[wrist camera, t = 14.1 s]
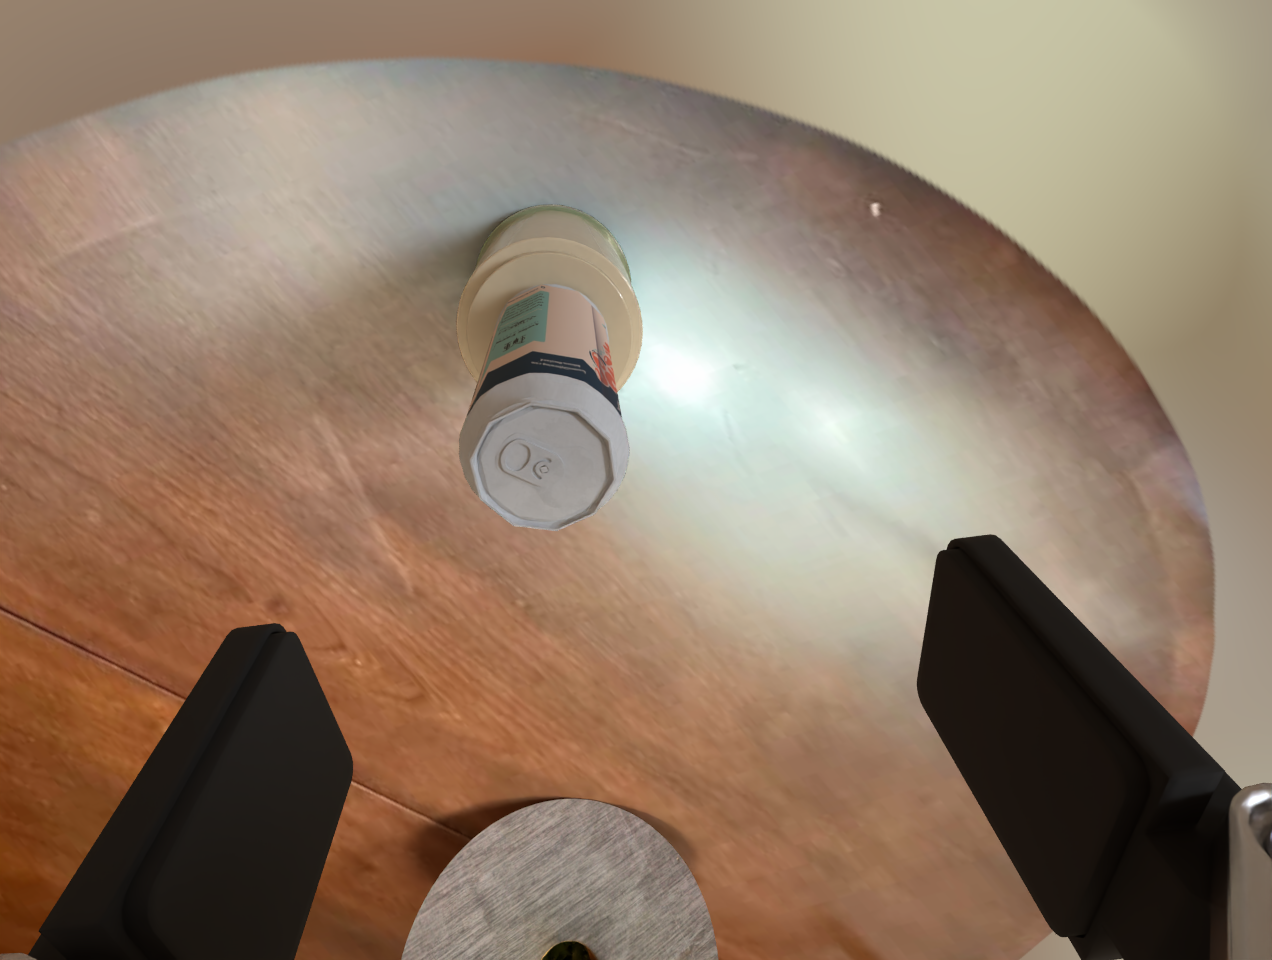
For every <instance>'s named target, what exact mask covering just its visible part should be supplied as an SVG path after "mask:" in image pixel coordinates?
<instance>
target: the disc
mask: <svg viewBox="0 0 1272 960" xmlns="http://www.w3.org/2000/svg"><path fill="white" fill-rule="evenodd" d="M401 960H718V954H717V946H716V941H715V936H714V931H713V926H712V923H711V919H710V916H709V913H708V909H707V906H706V903H705V901H704V898H703V896H702V893H701V891H700V889H699V887H698V885H697V883H696V881H695V879H694V877H693V875H692V873H691V871H690V870H689V868H688V866H687V865H686V863H685V862H684V861H683V859H682V858H681V856H680V855H679V854H678V853H677V851H676V850H675V849H674V848H673V847H672V845H671V844H670V843H669V842H668V841H667V840H666V839H665V838H664V837H663V836H662V835H661V834H660V833H658V832H657V831H656V830H655V829H654V828H653V827H651V826H650V825H649V824H647V823H646V822H645V821H643V820H642V819H640V818H638V817H637V816H635V815H633V814H631V813H629V812H627V811H625V810H623V809H620V808H618V807H615V806H612V805H609V804H606V803H602V802H598V801H593V800H585V799H559V800H552V801H546V802H541V803H537V804H534V805H531V806H528V807H525V808H522V809H520V810H517V811H515V812H513V813H511V814H509V815H507V816H505V817H503V818H501V819H500V820H498V821H496V822H495V823H493V824H492V825H490V826H489V827H487V828H486V829H485V830H483V831H482V832H481V833H479V834H478V835H477V836H476V837H474V838H473V839H472V840H471V841H470V842H469V843H468V844H467V845H466V846H465V847H464V848H463V849H462V850H461V851H460V852H459V853H458V854H457V855H456V856H455V857H454V858H453V859H452V861H451V862H450V863H449V864H448V865H447V867H446V868H445V869H444V870H443V872H442V873H441V874H440V876H439V877H438V879H437V880H436V882H435V883H434V885H433V886H432V888H431V890H430V891H429V893H428V895H427V896H426V898H425V900H424V902H423V904H422V906H421V908H420V910H419V912H418V914H417V916H416V918H415V921H414V923H413V926H412V928H411V931H410V933H409V936H408V939H407V942H406V945H405V948H404V951H403V955H402V959H401Z"/></svg>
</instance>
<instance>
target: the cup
mask: <svg viewBox="0 0 1272 960" xmlns="http://www.w3.org/2000/svg"><path fill="white" fill-rule="evenodd" d="M542 284H557V285H561V286H566V287H570V288H572V289H574V290H576V291H578V292H580V293H582V294H583V295H585V296H586V297H587V298H588V299H589V300H590V301H591V302H593V303H594V304H595V305H596V307H597V308H598V310H599V311H600V313H601V314H602V316H603V318H604V320H605V323H606V326H607V331H608V336H609V350H610V356H611V361H612V367H613V372H614V378H615V383H616V389H617V392H618V391H619V390H620V389H621V388H622V387H623V386H624V384H625V383H626V381H627V380H628V379H629V377H630V375H631V373H632V372H633V370H634V368H635V366H636V363H637V360H638V358H639V354H640V350H641V346H642V336H643V328H642V317H641V311H640V308H639V304H638V301H637V298H636V295H635V293H634V290H633V287H632V285H631V277H630V271H629V267H628V264H627V260H626V258H625V255H624V253H623V251H622V249H621V247H620V245H619V244H618V242H617V240H616V239H615V237H614V236H613V235H612V234H611V233H610V231H609V230H608V229H607V228H606V227H605V226H604V225H603V224H601V223H600V222H599V221H598V220H596V219H595V218H593V217H592V216H590V215H588V214H586V213H585V212H583V211H580V210H577V209H575V208H572V207H567V206H563V205H553V204H549V205H538V206H533V207H529V208H526V209H523V210H520V211H518V212H516V213H514V214H513V215H511V216H509V217H508V218H507V219H505V220H504V221H502V222H501V223H500V224H499V225H498V226H497V227H496V228H495V229H494V230H493V232H492V233H491V234H490V235H489V237H488V238H487V240H486V242H485V244H484V245H483V247H482V249H481V252H480V254H479V256H478V260H477V263H476V267H475V270H474V272H473V273H472V275H471V277H470V279H469V281H468V282H467V284H466V286H465V288H464V291H463V293H462V296H461V298H460V302H459V306H458V311H457V321H456V325H457V338H458V344H459V348H460V351H461V354H462V357H463V360H464V362H465V364H466V366H467V368H468V370H469V371H470V373H471V375H472V376H473V378H474V379H475V380H476V382H477V383H478V379H479V376H480V373H481V370H482V367H483V364H484V361H485V357H486V354H487V351H488V348H489V345H490V342H491V339H492V336H493V332H494V328H495V325H496V322H497V319H498V317H499V314H500V313H501V311H502V309H503V308H504V306H505V305H506V303H507V302H508V301H509V300H510V299H511V298H513V297H514V296H515V295H516V294H518V293H519V292H521V291H523V290H526V289H528V288H530V287H533V286H537V285H542Z"/></svg>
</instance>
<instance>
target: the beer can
mask: <svg viewBox="0 0 1272 960" xmlns="http://www.w3.org/2000/svg"><path fill="white" fill-rule="evenodd" d="M459 458H460V462H461V465H462V469H463V472H464V475H465V478H466V480H467V482H468V483H469V485H470V487H471V489H472V490H473V491H474V493H475V494H476V495H477V496H478V497H479V498H480V500H481V501H483V502H484V503H485V504H486V505H488V506H489V507H490V508H491V509H492V510H494V511H495V512H496V513H497V514H499V515H500V516H501V517H503V518H504V519H505V520H507V521H508V522H509V523H510V524H512V525H513V526H519V527H527V528H535V529H543V530H552V531H558V530H560V529H562V528H565V527H567V526H569V525H572V524H574V523H576V522H578V521H581V520H583V519H585V518H588V517H590V516H592V515H594V514H596V512H597V510H599V509H600V508H601V507H603V506H604V505H605V504H606V503H607V502H608V501H609V500H610V499H611V497H612V496H613V495H614V494H615V492H616V491H617V490H618V488H619V486H620V484H621V482H622V480H623V478H624V476H625V474H626V470H627V466H628V459H629V442H628V437H627V431H626V428H625V425H624V422H623V420H622V416H621V411H620V405H619V400H618V394H617V389H616V383H615V378H614V372H613V367H612V361H611V356H610V350H609V336H608V331H607V326H606V323H605V320H604V318H603V316H602V314H601V313H600V311H599V310H598V308H597V307H596V305H595V304H594V303H593V302H591V301H590V300H589V299H588V298H587V297H586V296H585V295H583V294H582V293H580V292H578V291H576V290H574V289H572V288H570V287H566V286H561V285H557V284H542V285H537V286H533V287H530V288H528V289H526V290H523V291H521V292H519V293H518V294H516V295H515V296H514V297H513V298H511V299H510V300H509V301H508V302H507V303H506V305H505V306H504V308H503V309H502V311H501V313H500V314H499V317H498V319H497V322H496V325H495V328H494V332H493V336H492V339H491V342H490V345H489V348H488V351H487V354H486V357H485V361H484V364H483V367H482V370H481V373H480V376H479V379H478V383H477V386H476V389H475V392H474V395H473V398H472V401H471V405H470V408H469V411H468V414H467V417H466V419H465V422H464V424H463V427H462V430H461V433H460V438H459Z"/></svg>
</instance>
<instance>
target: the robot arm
mask: <svg viewBox="0 0 1272 960" xmlns="http://www.w3.org/2000/svg"><path fill="white" fill-rule="evenodd" d="M917 691H918V695H919V698H920V701H921V704H922V706H923V708H924V710H925V711H926V713H927V715H928V717H929V718H930V720H931V722H932V723H933V725H934V727H935V729H936V730H937V732H938V734H939V736H940V737H941V739H942V741H943V743H944V744H945V746H946V748H947V750H948V751H949V753H950V755H951V757H952V758H953V760H954V762H955V764H956V765H957V767H958V769H959V770H960V772H961V774H962V776H963V777H964V779H965V781H966V783H967V784H968V786H969V788H970V790H971V791H972V793H973V795H974V797H975V798H976V800H977V802H978V804H979V805H980V807H981V809H982V810H983V812H984V814H985V816H986V817H987V819H988V821H989V823H990V824H991V826H992V828H993V830H994V831H995V833H996V835H997V837H998V838H999V840H1000V842H1001V844H1002V845H1003V847H1004V849H1005V850H1006V852H1007V854H1008V856H1009V857H1010V859H1011V861H1012V863H1013V864H1014V866H1015V868H1016V870H1017V871H1018V873H1019V875H1020V877H1021V878H1022V880H1023V882H1024V884H1025V885H1026V887H1027V889H1028V891H1029V892H1030V894H1031V896H1032V897H1033V899H1034V901H1035V903H1036V904H1037V906H1038V908H1039V910H1040V911H1041V913H1042V915H1043V917H1044V918H1045V920H1046V922H1047V923H1048V925H1049V926H1050V928H1051V929H1052V930H1053V931H1054V932H1055V933H1056V934H1057V935H1059V936H1060V937H1068V938H1069V939H1070V941H1071V943H1072V945H1073V946H1074V948H1075V950H1076V951H1077V953H1078V955H1079V957H1080V958H1081V960H1115V959H1122V958H1123V959H1124V960H1272V783H1261V784H1256V785H1252V786H1248V787H1245V788H1243V789H1241V788H1240V787H1239V786H1238V785H1237V784H1236V783H1235V782H1234V781H1233V780H1232V779H1231V778H1230V776H1229V775H1228V774H1227V773H1226V772H1225V770H1224V769H1223V768H1222V767H1221V766H1220V765H1219V764H1218V763H1217V762H1216V761H1215V760H1214V759H1213V758H1212V757H1211V756H1210V755H1209V754H1208V753H1207V752H1206V751H1205V750H1204V749H1203V748H1202V747H1201V746H1200V745H1199V744H1198V742H1197V741H1196V740H1195V739H1194V738H1193V737H1192V736H1191V735H1190V734H1189V733H1188V732H1187V731H1186V730H1185V729H1184V728H1183V727H1182V726H1181V725H1180V724H1179V723H1178V722H1177V721H1176V720H1175V719H1174V718H1173V717H1172V716H1171V715H1170V714H1169V713H1168V711H1167V710H1166V709H1165V708H1164V707H1163V706H1162V705H1161V704H1160V703H1159V702H1158V701H1157V700H1156V699H1155V698H1154V697H1153V696H1152V695H1151V694H1150V693H1149V692H1148V691H1147V690H1146V689H1145V688H1144V687H1143V686H1142V685H1141V684H1140V683H1139V682H1138V680H1137V679H1136V678H1135V677H1134V676H1133V675H1132V674H1131V673H1130V672H1129V671H1128V670H1127V669H1126V668H1125V667H1124V666H1123V665H1122V664H1121V663H1120V662H1119V661H1118V660H1117V659H1116V658H1115V657H1114V656H1113V655H1112V654H1111V653H1110V652H1109V651H1108V649H1107V648H1106V647H1105V646H1104V645H1103V644H1102V643H1101V642H1100V641H1099V640H1098V639H1097V638H1096V637H1095V636H1094V635H1093V634H1092V633H1091V632H1090V631H1089V630H1088V629H1087V628H1086V627H1085V626H1084V625H1083V624H1082V623H1081V622H1080V621H1079V619H1078V618H1077V617H1076V616H1075V615H1074V614H1073V613H1072V612H1071V611H1070V610H1069V609H1068V608H1067V607H1066V606H1065V605H1064V604H1063V603H1062V602H1061V601H1060V600H1059V599H1058V598H1057V597H1056V596H1055V595H1054V594H1053V593H1052V592H1051V591H1050V590H1049V588H1048V587H1047V586H1046V585H1045V584H1044V583H1043V582H1042V581H1041V580H1040V579H1039V578H1038V577H1037V576H1036V575H1035V574H1034V573H1033V572H1032V571H1031V570H1030V569H1029V568H1028V567H1027V566H1026V565H1025V564H1024V563H1023V562H1022V561H1021V560H1020V559H1019V557H1018V556H1017V555H1016V554H1015V553H1014V552H1013V551H1012V550H1011V549H1010V548H1009V547H1008V546H1007V545H1006V544H1005V543H1004V542H1003V541H1002V540H1001V539H1000V538H998V537H997V536H996V535H991V534H990V535H982V536H974V537H966V538H958V539H954V540H951V541H950V543H949V544H948V547H947V550H943V551H940V552H939V553H938V555H937V559H936V565H935V571H934V577H933V583H932V590H931V596H930V602H929V608H928V615H927V621H926V627H925V633H924V640H923V646H922V652H921V658H920V664H919V671H918V677H917ZM352 775H353V761H352V756H351V753H350V751H349V748H348V746H347V744H346V742H345V739H344V737H343V735H342V733H341V731H340V728H339V726H338V724H337V722H336V719H335V717H334V715H333V713H332V711H331V708H330V706H329V704H328V702H327V699H326V697H325V695H324V693H323V691H322V688H321V686H320V684H319V682H318V679H317V677H316V675H315V673H314V671H313V668H312V666H311V664H310V662H309V659H308V657H307V655H306V653H305V651H304V648H303V646H302V644H301V642H300V639H299V638H298V636H297V634H295V633H294V632H286V630H285V629H284V627H283V626H281V625H280V624H276V623H273V624H265V625H257V626H249V627H241V628H236V629H234V630H232V631H231V632H230V633H229V634H228V635H227V636H226V638H225V639H224V641H223V643H222V644H221V646H220V647H219V649H218V650H217V652H216V654H215V655H214V657H213V658H212V660H211V661H210V663H209V665H208V666H207V668H206V669H205V671H204V672H203V674H202V675H201V677H200V679H199V680H198V682H197V683H196V685H195V686H194V688H193V690H192V691H191V693H190V694H189V696H188V697H187V699H186V701H185V702H184V704H183V705H182V707H181V708H180V710H179V712H178V713H177V715H176V716H175V718H174V719H173V721H172V723H171V724H170V726H169V727H168V729H167V730H166V732H165V734H164V735H163V737H162V738H161V740H160V741H159V743H158V744H157V746H156V748H155V749H154V751H153V752H152V754H151V755H150V757H149V759H148V760H147V762H146V763H145V765H144V766H143V768H142V770H141V771H140V773H139V774H138V776H137V777H136V779H135V781H134V782H133V784H132V785H131V787H130V788H129V790H128V792H127V793H126V795H125V796H124V798H123V799H122V801H121V802H120V804H119V806H118V807H117V809H116V810H115V812H114V813H113V815H112V817H111V818H110V820H109V821H108V823H107V824H106V826H105V828H104V829H103V831H102V832H101V834H100V835H99V837H98V839H97V840H96V842H95V843H94V845H93V846H92V848H91V850H90V851H89V853H88V854H87V856H86V857H85V859H84V861H83V862H82V864H81V865H80V867H79V868H78V870H77V871H76V873H75V875H74V876H73V878H72V879H71V881H70V882H69V884H68V886H67V887H66V889H65V890H64V892H63V893H62V895H61V897H60V898H59V900H58V901H57V903H56V904H55V906H54V908H53V909H52V911H51V912H50V914H49V915H48V917H47V919H46V920H45V922H44V923H43V925H42V926H41V928H40V929H39V932H40V933H41V935H40V937H39V938H38V940H37V941H36V943H35V945H34V946H33V948H32V949H31V951H30V953H29V954H28V955H25V954H23V953H11V954H0V960H294V958H295V955H296V952H297V949H298V946H299V943H300V939H301V936H302V933H303V930H304V927H305V924H306V921H307V918H308V915H309V911H310V908H311V905H312V902H313V899H314V896H315V893H316V890H317V886H318V883H319V880H320V877H321V874H322V871H323V868H324V865H325V862H326V858H327V855H328V852H329V849H330V846H331V843H332V840H333V837H334V834H335V830H336V827H337V824H338V821H339V818H340V815H341V812H342V809H343V805H344V802H345V799H346V796H347V793H348V790H349V787H350V784H351V780H352Z"/></svg>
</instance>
